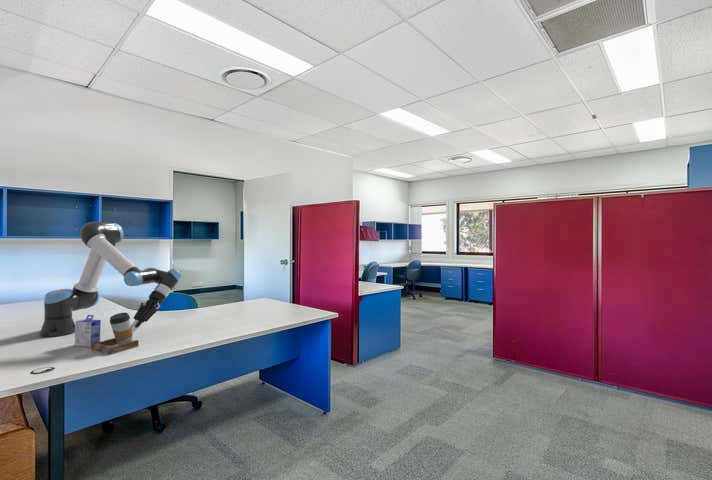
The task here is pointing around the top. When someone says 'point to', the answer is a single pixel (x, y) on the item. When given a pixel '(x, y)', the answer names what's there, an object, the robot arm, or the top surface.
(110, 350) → the walnut bay
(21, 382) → the top surface
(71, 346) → the top surface
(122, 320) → the coffee cup
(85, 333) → the ink cartridge box
